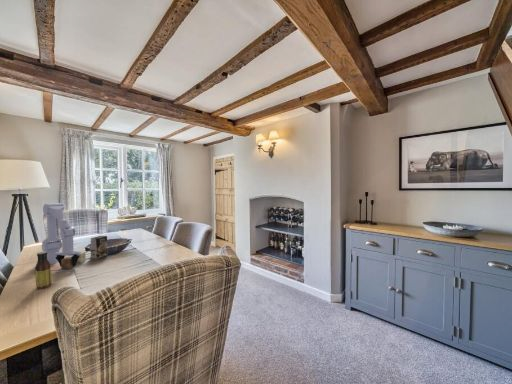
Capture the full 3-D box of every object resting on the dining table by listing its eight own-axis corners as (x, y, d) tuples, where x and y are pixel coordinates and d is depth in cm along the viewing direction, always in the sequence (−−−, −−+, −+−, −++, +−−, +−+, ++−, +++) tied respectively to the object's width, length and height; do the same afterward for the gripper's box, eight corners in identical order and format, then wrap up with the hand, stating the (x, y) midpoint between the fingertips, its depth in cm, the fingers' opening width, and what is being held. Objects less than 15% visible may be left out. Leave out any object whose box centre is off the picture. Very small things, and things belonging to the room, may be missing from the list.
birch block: (73, 263, 154) (73, 254, 153) (78, 261, 159) (77, 251, 158) (80, 263, 154) (80, 253, 154) (85, 261, 159) (85, 251, 159)
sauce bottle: (42, 284, 124) (42, 250, 123) (54, 284, 124) (53, 250, 124) (32, 290, 117) (31, 254, 117) (44, 289, 118) (43, 254, 117)
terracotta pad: (44, 271, 140) (44, 270, 140) (54, 266, 148) (54, 265, 148) (57, 270, 141) (57, 270, 141) (66, 266, 149) (66, 265, 149)
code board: (41, 273, 139) (41, 272, 138) (66, 260, 160) (66, 260, 160) (70, 272, 141) (70, 271, 141) (91, 260, 162) (91, 259, 162)
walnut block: (61, 269, 143) (61, 259, 142) (66, 267, 148) (66, 256, 147) (69, 269, 143) (69, 259, 143) (74, 266, 148) (74, 256, 148)
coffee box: (97, 259, 164) (97, 238, 164) (90, 258, 166) (90, 238, 165) (107, 255, 173) (107, 235, 173) (101, 254, 175) (100, 235, 174)
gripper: (51, 248, 140) (51, 268, 140) (75, 247, 142) (75, 267, 142) (59, 245, 147) (59, 264, 147) (82, 244, 149) (82, 263, 149)
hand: (68, 265), depth 145 cm, fingers open, 7 cm apart
